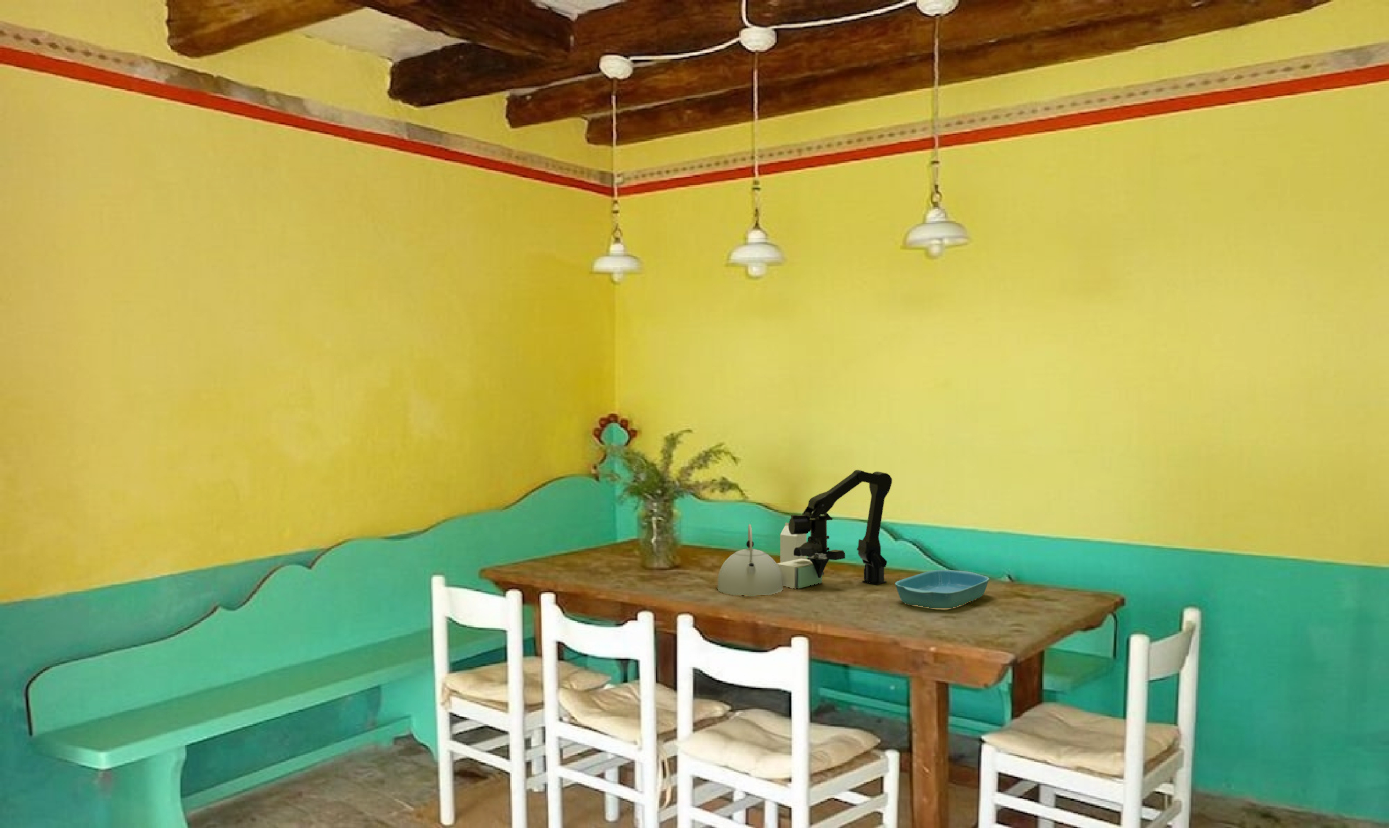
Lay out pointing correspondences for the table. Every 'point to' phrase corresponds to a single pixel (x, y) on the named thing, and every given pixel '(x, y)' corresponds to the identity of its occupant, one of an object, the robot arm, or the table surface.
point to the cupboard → (792, 571)
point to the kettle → (750, 572)
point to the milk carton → (790, 544)
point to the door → (808, 576)
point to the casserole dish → (941, 588)
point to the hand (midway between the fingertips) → (819, 577)
